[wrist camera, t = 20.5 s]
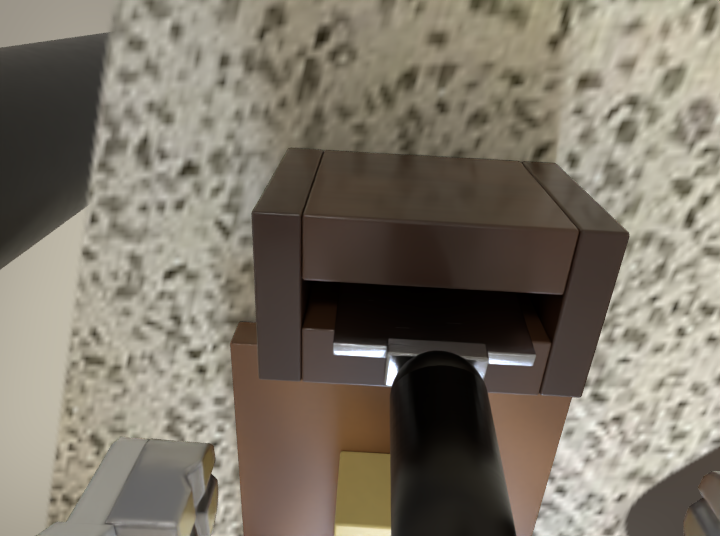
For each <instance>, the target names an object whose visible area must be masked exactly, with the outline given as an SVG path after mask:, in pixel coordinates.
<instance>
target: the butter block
mask: <svg viewBox="0 0 720 536" xmlns="http://www.w3.org/2000/svg"><path fill="white" fill-rule="evenodd" d="M334 536H391V479H390V454H384V453H367V452H349V451H341V453H340V461H339V474H338V486H337V499H336V511H335V524H334Z"/></svg>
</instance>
